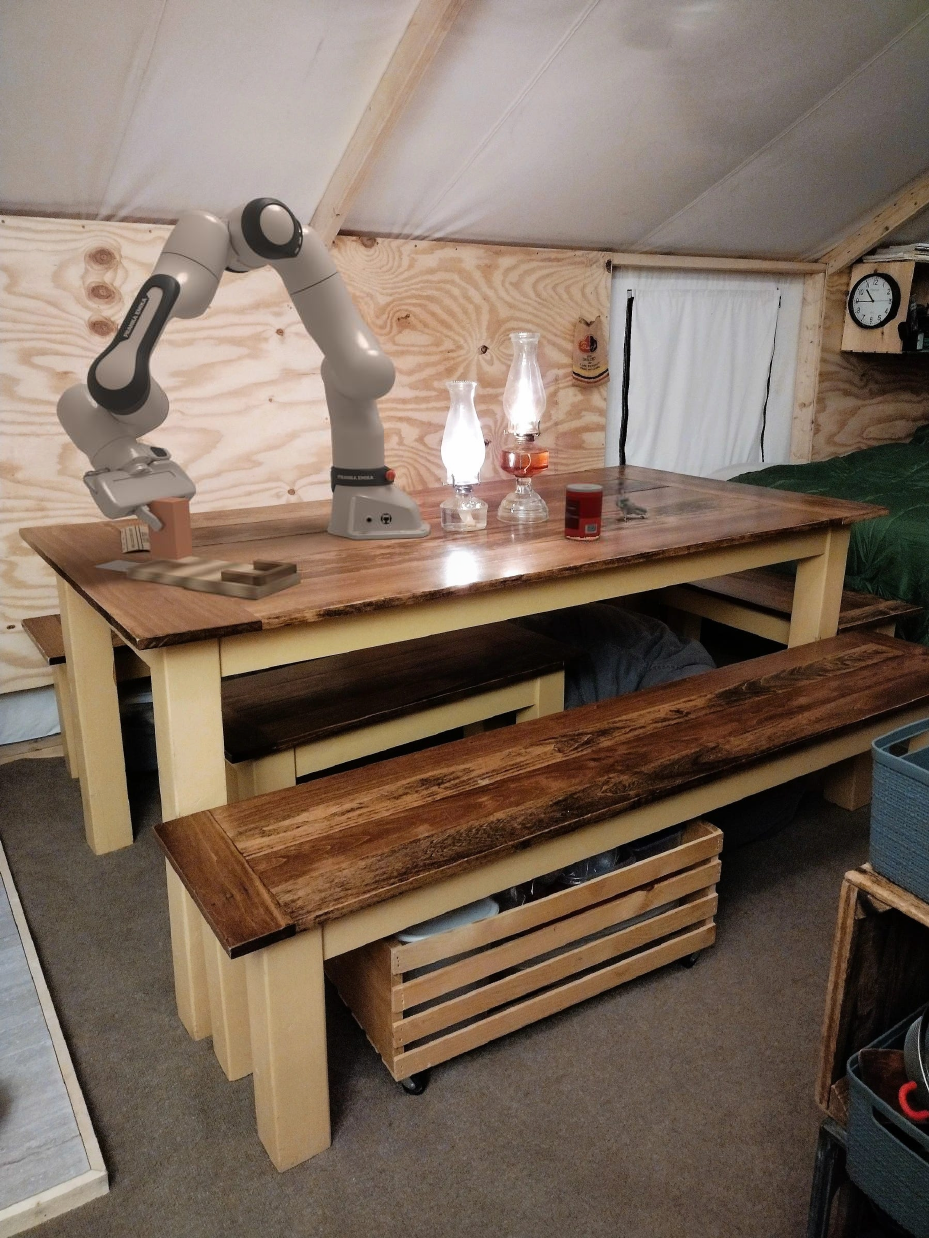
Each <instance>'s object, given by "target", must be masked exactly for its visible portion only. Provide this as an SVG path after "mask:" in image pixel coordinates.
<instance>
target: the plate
mask: <svg viewBox="0 0 929 1238" xmlns="http://www.w3.org/2000/svg"><path fill="white" fill-rule="evenodd" d="M142 563H143V562H142ZM142 563H141V562H136V561H135V562H134V561H127V560H120V559H116V560H113V561H109V562H106V563H102V564H99V565H95V566H93V568H97V569H104V570H111V571H118V572H124V573H126V568H128V567H131V566H135V565H138V564H142Z"/></svg>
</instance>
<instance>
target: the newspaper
mask: <svg viewBox="0 0 929 1238" xmlns="http://www.w3.org/2000/svg"><path fill="white" fill-rule="evenodd" d="M119 531H121V533H120V538H121V539H120V541H121V549H122V554H127V553H130V552H134V551H141V550H142V551H148V552H150V542H149V532H148V526H145V525H131V526H125V527H123V528H120V530H119Z"/></svg>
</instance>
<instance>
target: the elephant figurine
mask: <svg viewBox="0 0 929 1238" xmlns="http://www.w3.org/2000/svg"><path fill="white" fill-rule="evenodd" d="M626 491H627V490H624V489H621V491H620V494H619V493H617V496H616V500H615V501H614V503H615V505H616V507H618V508H620V511H621V513H622V515H623V516H622V517H623V518H624V517H625V518H627V519H628V518H629V516H631V515H635V516H639V515H646V514H648V515H649V516H650V513H648V512H649V508H646V507H642V506H639V505H636V504H635V503H634V502H633V501H631V499H630V496H629V495H628V496H627V497H625V495H626V494H625V493H626ZM627 515H628V517H627Z"/></svg>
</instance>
